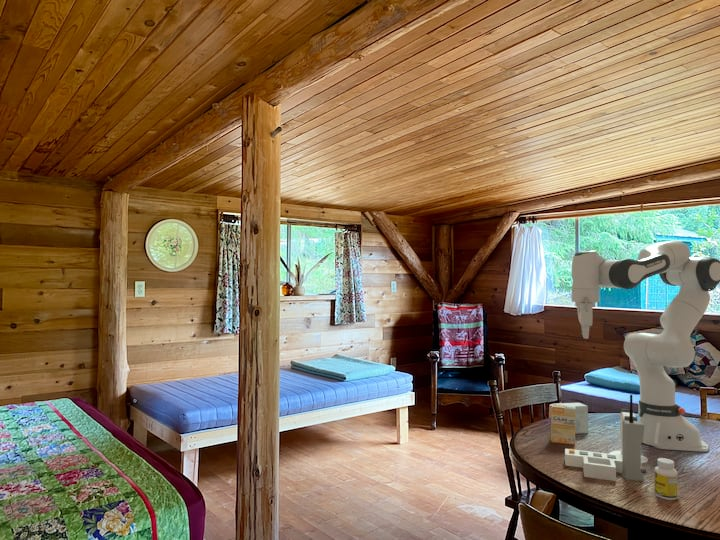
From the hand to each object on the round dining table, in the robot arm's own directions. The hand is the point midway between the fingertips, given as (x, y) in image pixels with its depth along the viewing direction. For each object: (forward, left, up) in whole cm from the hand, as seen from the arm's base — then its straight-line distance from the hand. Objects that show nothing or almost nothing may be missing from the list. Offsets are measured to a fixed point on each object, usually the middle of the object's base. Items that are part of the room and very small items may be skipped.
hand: (585, 336), depth 176 cm
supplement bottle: (-19, +32, -39) cm, 54 cm away
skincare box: (+4, -21, -39) cm, 45 cm away
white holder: (-13, +3, -39) cm, 41 cm away
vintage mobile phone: (-12, +22, -39) cm, 47 cm away
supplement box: (+7, -6, -39) cm, 40 cm away
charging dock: (-5, +19, -39) cm, 44 cm away
